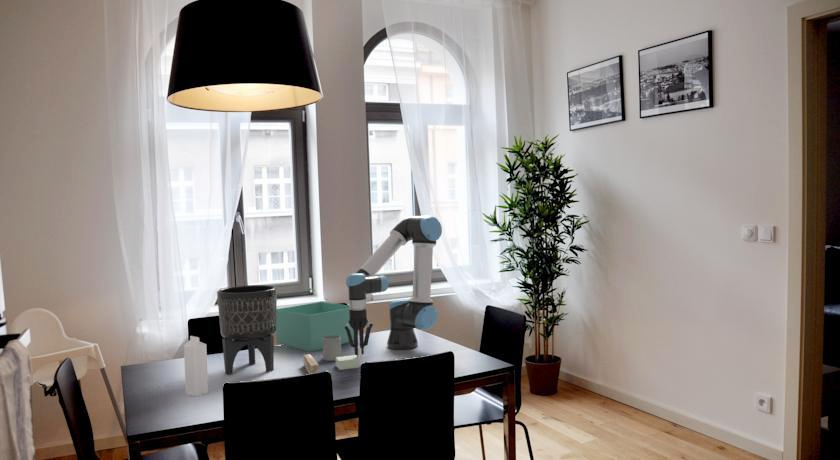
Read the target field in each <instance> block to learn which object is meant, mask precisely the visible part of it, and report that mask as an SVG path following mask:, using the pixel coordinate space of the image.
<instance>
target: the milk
mask: <svg viewBox="0 0 840 460" xmlns="http://www.w3.org/2000/svg"><path fill="white" fill-rule="evenodd" d="M207 350H208V349H207V343H204V342H202V341H200V336H199V337H198V336H194V335H190V336H189V340H188V341H187V342H186V343H185V344H184V345H183V357H184V358H183V360H184V377H185V378H184V379H185V394H186V395H187V396H188V395H189V396H192V397H198V396H201V395H205V394H209V376H208V375H209V373H208V355H207V354H208V352H207Z"/></svg>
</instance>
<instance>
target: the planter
mask: <svg viewBox="0 0 840 460" xmlns="http://www.w3.org/2000/svg"><path fill="white" fill-rule="evenodd" d="M277 290H278V289H277V287H276V286H274V285H265V284H264V285H262V284H257V285H256V284H254V285H253V284H252V285H238V286H231V287H224V288H220V289H218V290H217V291H216V296H217V307H218V318H219V327H220V330H219V331H220V334H221V336H222V351H223V352H222V353H223V362H224V363H223V364H224V374H225V375H227V376H229V375H233V373H234V372H233V371H234V364H235V363H234V362H235V359H236V358H237V355H238V354H239V352H240V351H241V350H242V349H243V348H244V347H246V346H247V349H248V350H247V352H248V364H249V365H255V364H256V348H257V350H258V351H259V352H260V354H261V355H262V358H263V361H264V365H265V372H269V371H271V372H273V371H275V370H274V369H275V367H274V366H275V365H274V361H275V360H274V359H275V358H274V356H275V354H274V351H275V350H274V347H275V345H274V343H275V341H274V340H275V339H274V338H275V335H273V334H275V333H276V311H277V309H278V307H277V297H278V296H277V294H278V293H277ZM272 370H273V371H272Z"/></svg>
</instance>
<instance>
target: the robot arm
mask: <svg viewBox="0 0 840 460" xmlns="http://www.w3.org/2000/svg"><path fill="white" fill-rule="evenodd" d="M442 233H443V228H442V224H441V222H440V220H439V219H438V218H437V217H435V216H432V215H431V216H430V215H411V216H410V215H409V216H408V217H407V216H406V217H405V218H404V219H402V220H401V221H400V222H399V223H397V224H396V225H395V226H394V227H393V228H392V229H391V230H390V232H389V236H388V237H387V238H386V239H385V240H384V242H382V243H381V244H380V246H379V247H378V248H377V249H376V250H375V251H374V252H373V253H372V255H371V256H370V257H369V258H368V259H367V260H366V261H365V263H364V264H363V265H362V266H361V267H360V268H359V269H358V270H357V271H356V272H355V273H350V274H348V275H347V277H346V278H345V284H346V287H347V288H348V289H347V290H348V306H349V308H350V310H349V322H348V324H347V325H344V328H345V330H346V332H347V336H348V339H349V342H348V343H349V346H350V347H352V348H353V349H354V350H353V351H354V355H356V356H357V357H358V358H359V361H360V363H362V361H363V360H362V359H363V356H362V355H364V354H365V353H364V352H365V351H364V349H365V347H367V346H368V344H369V340H370V334H371V330H372V328H373V326H374V324H373V323H371V322H369V321H368V319H367V315H368V314H367V309H366V308H367V295H370V294H376V293H378V294H380V293H382V292H383V293H384V292H386V291H387V290H388V288H389V279H388V278H387V277H386V275H383V274H382V275H377V273H379V272H380V270H381V269H382V268H383V267H384V266H385V265H386V264H387V262H388V261H389V260H390V259H391V258H392V257H393V256H394V255H395V254H396V252H397V251H398V250H399V249H400V248H401V247H402V246H405V245H406V244H407V243H408V242H410V241H411V244H412V246H414V261H413V262H414V263H413V278H412V279H413V280H412V282H413V283H412V296H411V297H410V298H406V299H397V300H392V301H390V303H389V308H388V310H389V326H390V327H389V329H390V331H389V335H388V338H387V342H386V344H387V346H386V347H387V348H388V349H391V350H392V349H393V350H409V349H410V348H411V349H415V348H417V347H418V346H419V345H418V344H419V343H418V338H417V335H416V333H415V329H416V330H417V329H418V330H423V331H424V330H425V331H426V330H430V329H431V328H433V326H435V325H436V322H437V321H438V311H437V309H436V308H435V307H434V300H433V299H432V298H431V292H432V291H431V289H432V287H431V286H432V274H433V273H432V271H433V270H432V269H433V252H434V249H433V248H434V247H435V246H437V240H440V238H441V237H442ZM350 326H351V327H352V329H353V331H354V341H353V340H352V336H351V333H350V330H349V329H350ZM365 328H366V329H365ZM364 329H365V336H364ZM411 349H410V350H411Z"/></svg>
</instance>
